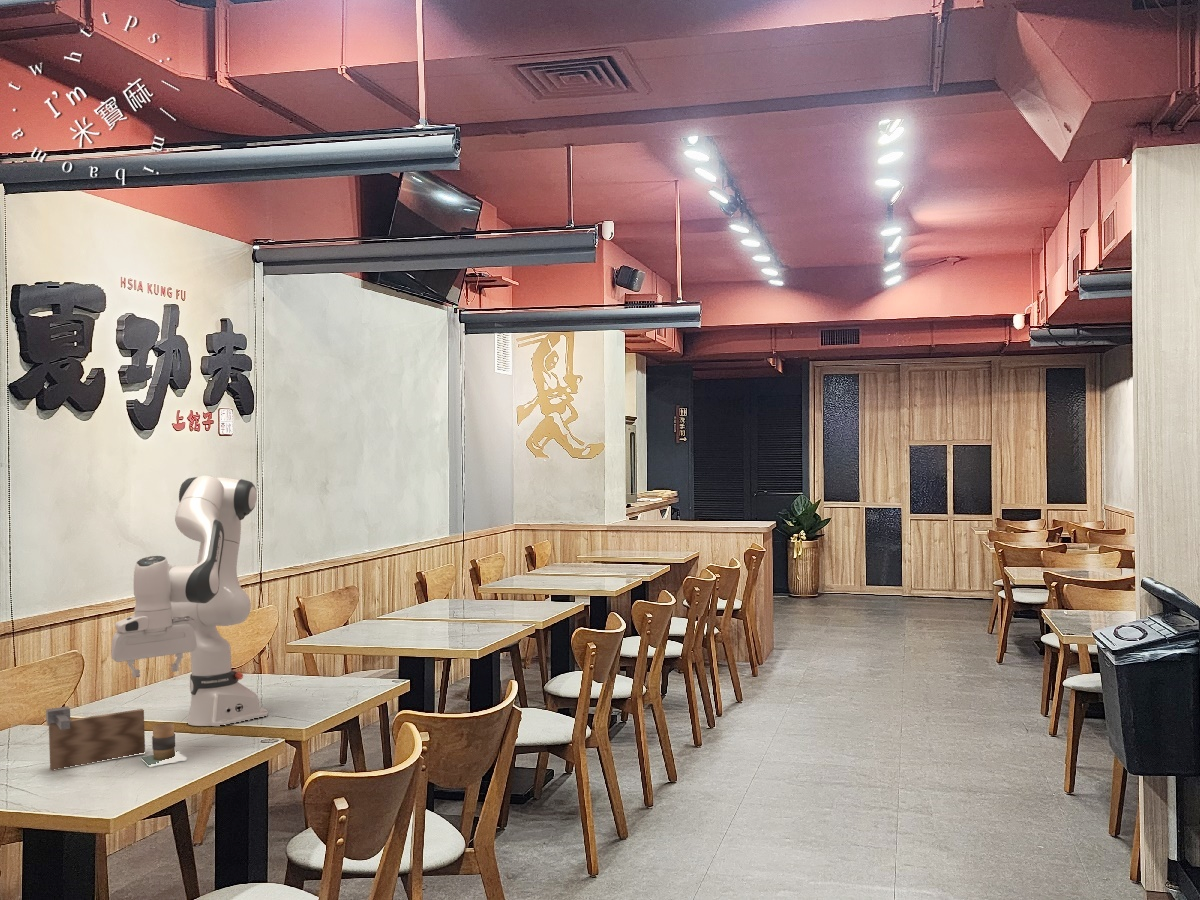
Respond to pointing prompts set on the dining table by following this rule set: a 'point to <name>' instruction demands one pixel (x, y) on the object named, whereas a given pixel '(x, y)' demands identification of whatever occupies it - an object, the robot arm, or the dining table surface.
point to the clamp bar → (59, 717)
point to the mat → (150, 759)
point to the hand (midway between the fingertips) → (155, 674)
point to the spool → (163, 741)
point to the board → (97, 739)
